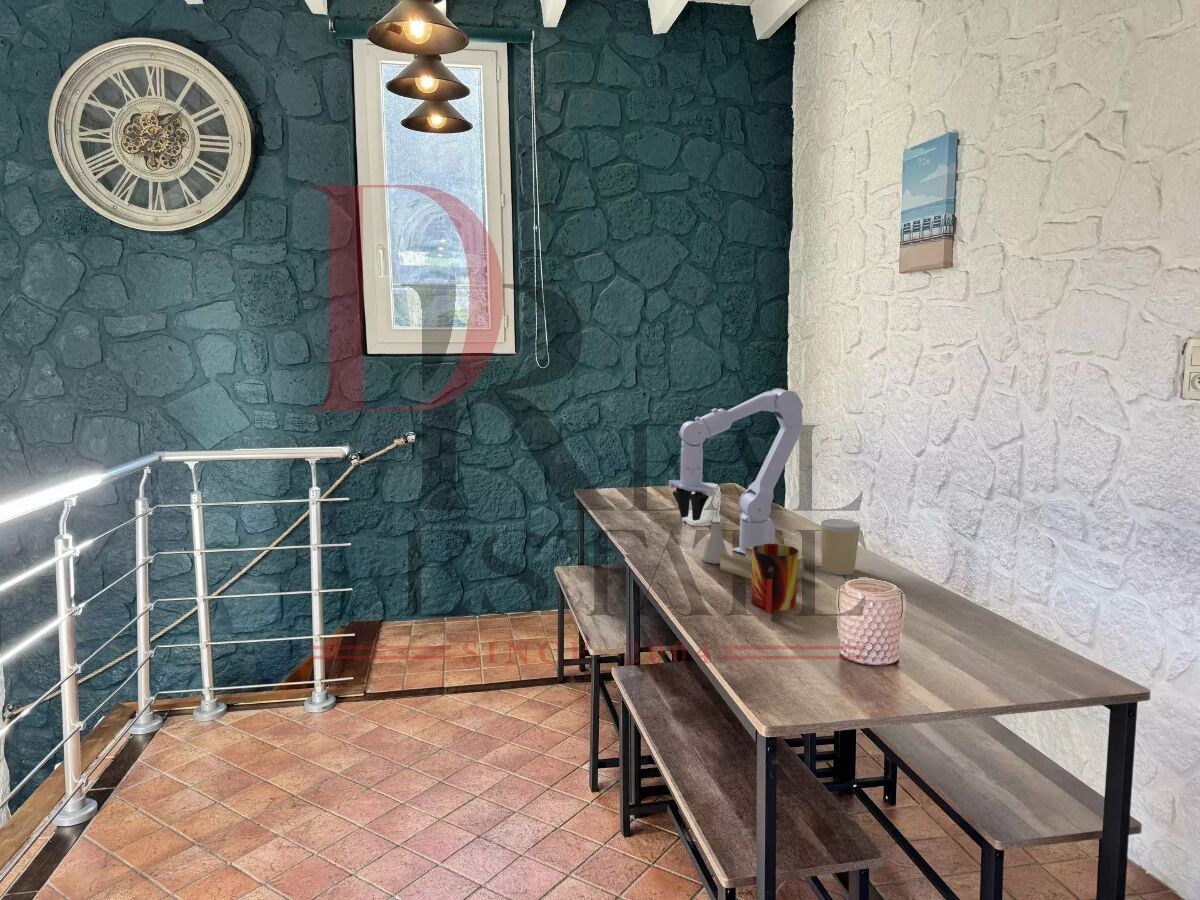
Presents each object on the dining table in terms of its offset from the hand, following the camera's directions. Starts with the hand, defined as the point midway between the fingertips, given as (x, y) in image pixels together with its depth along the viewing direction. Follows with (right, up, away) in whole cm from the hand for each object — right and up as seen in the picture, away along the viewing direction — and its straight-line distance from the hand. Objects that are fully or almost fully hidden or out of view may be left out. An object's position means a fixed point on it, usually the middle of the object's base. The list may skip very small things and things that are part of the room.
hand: (690, 518), depth 212 cm
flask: (+6, -11, -5) cm, 13 cm away
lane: (+15, -12, -16) cm, 25 cm away
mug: (+14, -16, -39) cm, 44 cm away
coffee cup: (+35, -12, -13) cm, 39 cm away
